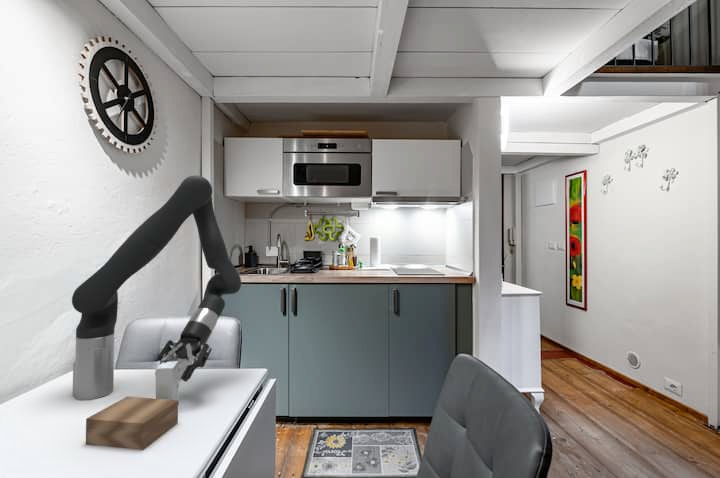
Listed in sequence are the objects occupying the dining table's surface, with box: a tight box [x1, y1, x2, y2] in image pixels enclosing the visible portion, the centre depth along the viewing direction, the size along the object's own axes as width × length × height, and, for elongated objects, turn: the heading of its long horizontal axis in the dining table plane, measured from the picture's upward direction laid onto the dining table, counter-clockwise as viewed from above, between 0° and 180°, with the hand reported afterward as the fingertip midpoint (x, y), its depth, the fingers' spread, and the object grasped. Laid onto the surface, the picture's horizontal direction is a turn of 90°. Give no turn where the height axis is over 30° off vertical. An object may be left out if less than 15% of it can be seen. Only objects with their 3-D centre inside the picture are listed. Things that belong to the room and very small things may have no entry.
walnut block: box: [85, 396, 179, 451], centre depth 87 cm, size 14×12×6 cm
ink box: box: [159, 339, 190, 382], centre depth 120 cm, size 9×5×12 cm, turn 168°
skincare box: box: [155, 361, 180, 406], centre depth 99 cm, size 6×4×12 cm
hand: (170, 378), depth 100 cm, fingers open, 8 cm apart
